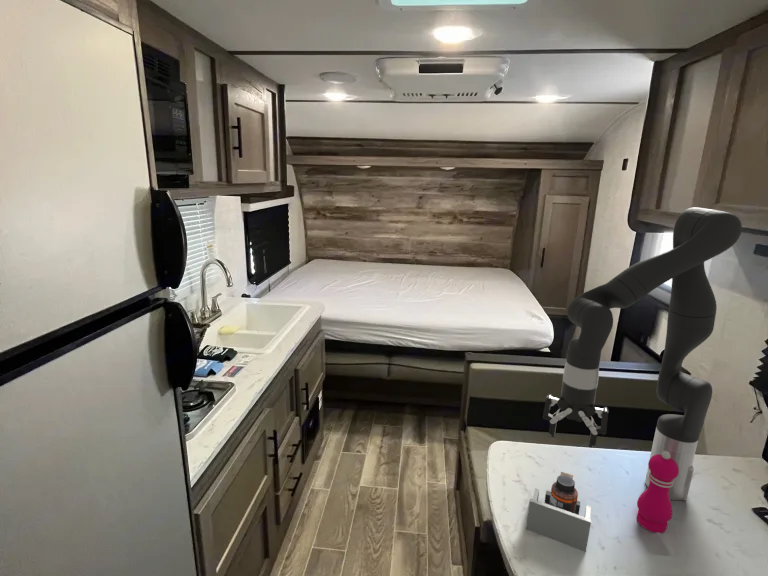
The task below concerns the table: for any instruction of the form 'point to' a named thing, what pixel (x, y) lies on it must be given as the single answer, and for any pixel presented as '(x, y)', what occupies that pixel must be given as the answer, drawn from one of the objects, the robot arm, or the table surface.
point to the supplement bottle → (564, 494)
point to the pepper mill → (657, 494)
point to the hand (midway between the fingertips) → (571, 440)
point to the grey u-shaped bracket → (558, 523)
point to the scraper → (548, 493)
